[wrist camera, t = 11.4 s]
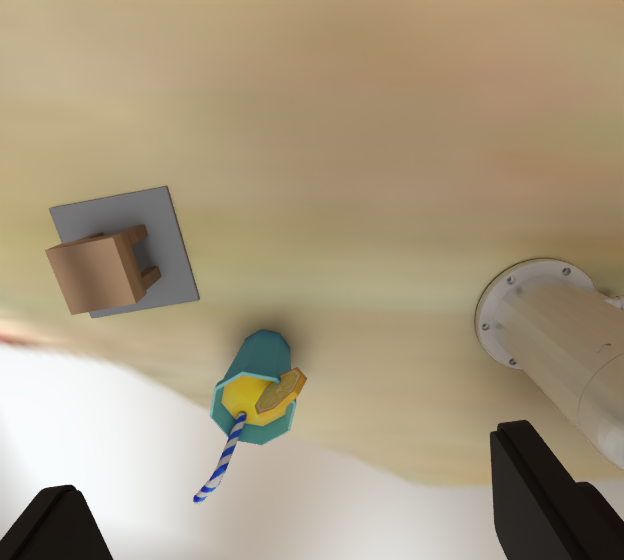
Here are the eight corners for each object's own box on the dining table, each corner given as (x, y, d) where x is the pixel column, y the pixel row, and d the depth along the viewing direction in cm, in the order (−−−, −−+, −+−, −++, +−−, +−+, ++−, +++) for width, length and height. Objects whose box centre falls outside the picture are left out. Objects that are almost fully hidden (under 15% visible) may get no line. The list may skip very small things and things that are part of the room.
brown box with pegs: (146, 221, 40) (112, 237, 34) (164, 278, 42) (136, 303, 35) (88, 232, 41) (44, 250, 34) (109, 287, 42) (71, 314, 36)
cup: (257, 415, 48) (234, 530, 34) (201, 383, 47) (151, 489, 32) (325, 328, 44) (331, 416, 30) (266, 290, 43) (243, 364, 29)
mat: (167, 186, 39) (165, 186, 39) (199, 298, 43) (198, 300, 43) (51, 208, 40) (48, 208, 40) (93, 317, 44) (91, 318, 44)
